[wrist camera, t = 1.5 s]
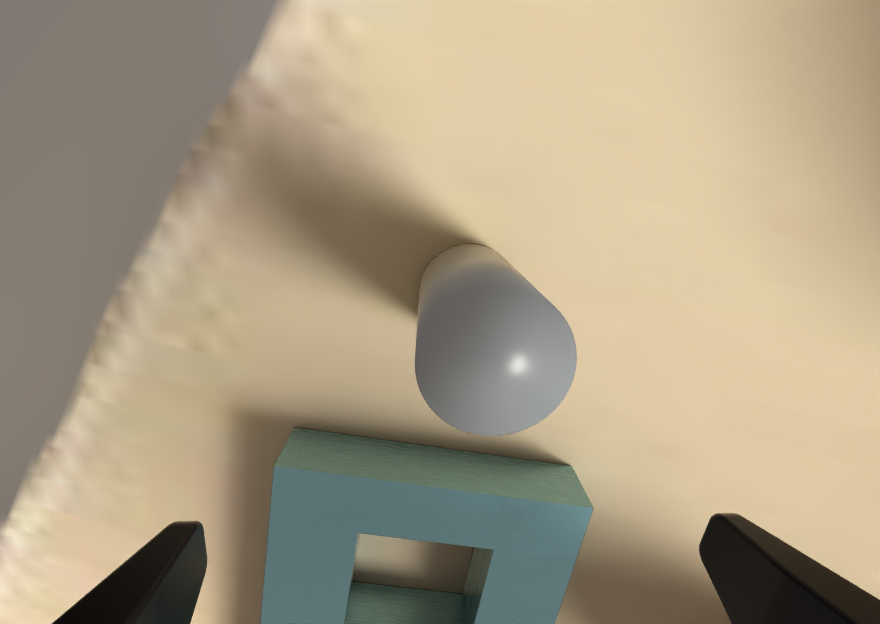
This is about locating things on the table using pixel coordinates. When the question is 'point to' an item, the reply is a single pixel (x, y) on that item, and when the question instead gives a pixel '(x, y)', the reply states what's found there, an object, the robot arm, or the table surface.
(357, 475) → the plate
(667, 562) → the table surface
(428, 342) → the grey cylinder
